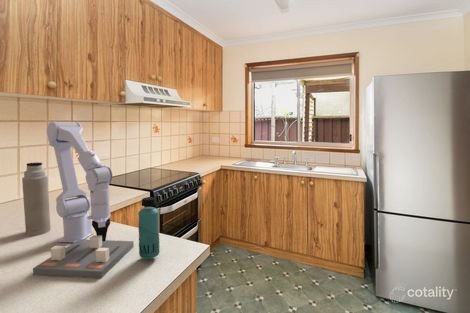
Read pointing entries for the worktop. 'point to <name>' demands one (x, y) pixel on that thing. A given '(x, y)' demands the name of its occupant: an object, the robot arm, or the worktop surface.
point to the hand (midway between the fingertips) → (101, 240)
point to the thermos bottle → (36, 200)
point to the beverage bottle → (148, 229)
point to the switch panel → (83, 259)
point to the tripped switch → (95, 241)
